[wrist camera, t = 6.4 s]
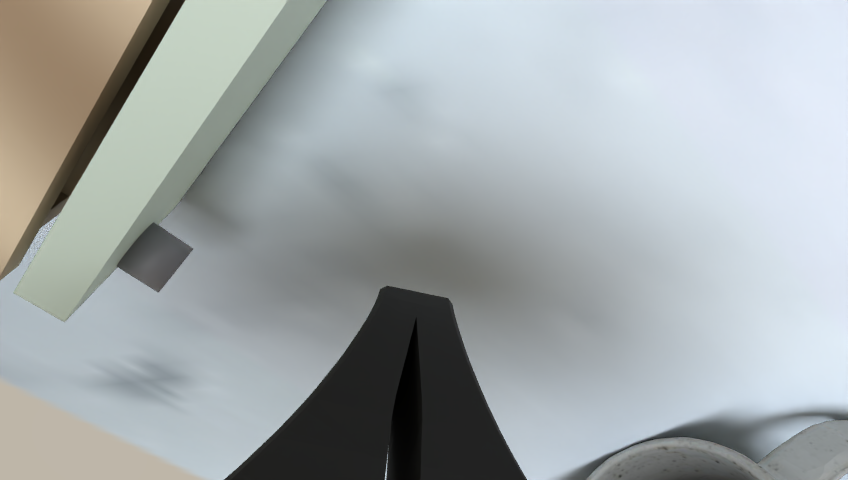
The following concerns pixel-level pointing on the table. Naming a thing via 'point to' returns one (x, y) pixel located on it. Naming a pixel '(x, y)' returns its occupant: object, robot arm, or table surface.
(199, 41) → the door
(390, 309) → the robot arm
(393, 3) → the table surface
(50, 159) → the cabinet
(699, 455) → the ceramic mug
